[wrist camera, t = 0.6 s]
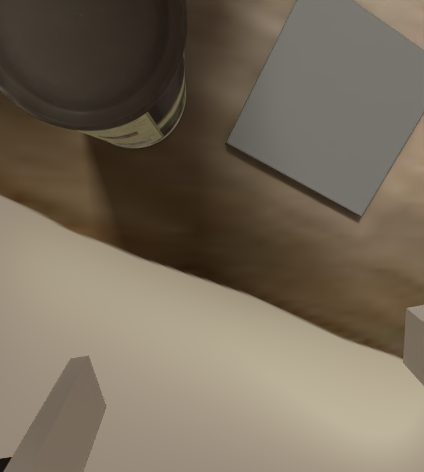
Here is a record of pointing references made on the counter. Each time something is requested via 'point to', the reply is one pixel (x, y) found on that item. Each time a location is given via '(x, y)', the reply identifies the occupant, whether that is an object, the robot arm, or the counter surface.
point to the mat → (334, 101)
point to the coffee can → (97, 65)
